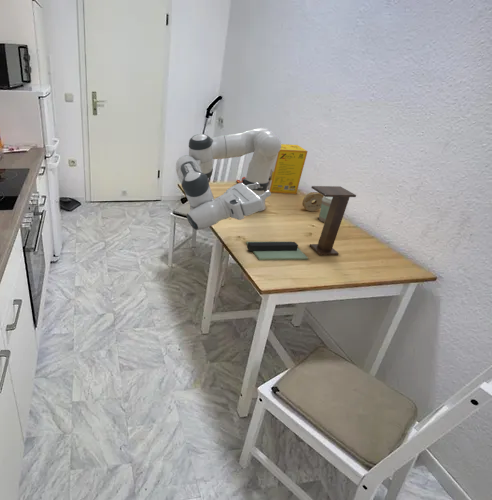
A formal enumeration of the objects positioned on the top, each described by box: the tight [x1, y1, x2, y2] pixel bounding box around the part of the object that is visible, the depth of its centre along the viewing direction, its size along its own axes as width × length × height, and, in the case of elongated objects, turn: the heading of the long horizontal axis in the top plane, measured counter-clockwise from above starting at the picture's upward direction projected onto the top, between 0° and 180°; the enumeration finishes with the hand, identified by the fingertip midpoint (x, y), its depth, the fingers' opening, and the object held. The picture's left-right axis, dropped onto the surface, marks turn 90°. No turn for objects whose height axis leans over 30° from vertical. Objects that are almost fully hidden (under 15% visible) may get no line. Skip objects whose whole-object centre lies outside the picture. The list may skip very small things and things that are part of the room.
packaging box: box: [268, 143, 308, 195], centre depth 214 cm, size 16×16×25 cm
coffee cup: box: [318, 196, 333, 223], centre depth 176 cm, size 9×8×12 cm
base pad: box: [246, 241, 309, 261], centre depth 146 cm, size 20×14×1 cm
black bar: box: [246, 241, 299, 252], centre depth 146 cm, size 20×3×2 cm, turn 97°
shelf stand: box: [309, 185, 357, 256], centre depth 142 cm, size 14×10×26 cm
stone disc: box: [302, 191, 324, 212], centre depth 187 cm, size 10×4×10 cm, turn 89°
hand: (264, 188), depth 133 cm, fingers open, 8 cm apart
